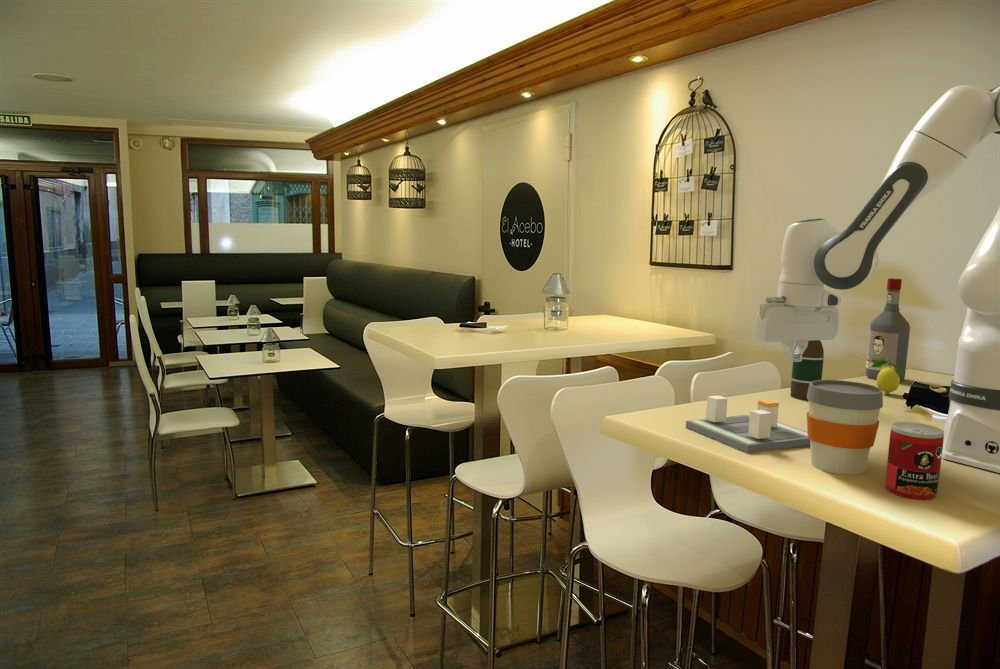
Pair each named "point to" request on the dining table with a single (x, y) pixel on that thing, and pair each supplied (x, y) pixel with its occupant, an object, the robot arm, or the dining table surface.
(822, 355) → the beer bottle
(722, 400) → the block
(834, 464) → the reusable coffee cup
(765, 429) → the block
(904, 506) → the dining table surface
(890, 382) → the lemon
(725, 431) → the panel
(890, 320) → the liquor
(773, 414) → the block
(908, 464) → the canned food
